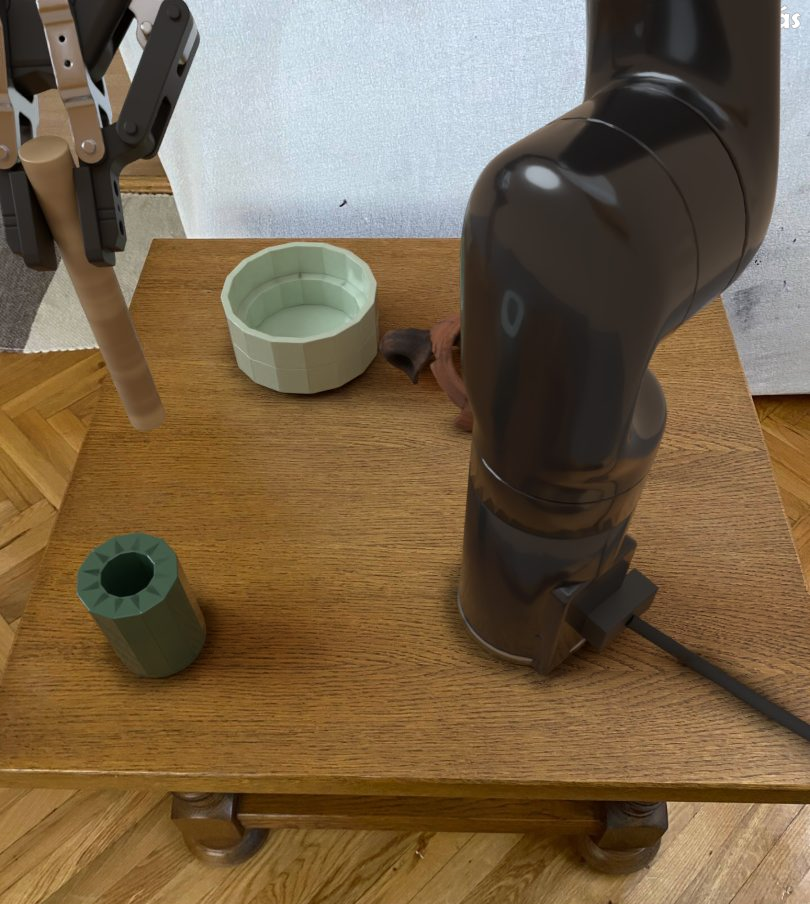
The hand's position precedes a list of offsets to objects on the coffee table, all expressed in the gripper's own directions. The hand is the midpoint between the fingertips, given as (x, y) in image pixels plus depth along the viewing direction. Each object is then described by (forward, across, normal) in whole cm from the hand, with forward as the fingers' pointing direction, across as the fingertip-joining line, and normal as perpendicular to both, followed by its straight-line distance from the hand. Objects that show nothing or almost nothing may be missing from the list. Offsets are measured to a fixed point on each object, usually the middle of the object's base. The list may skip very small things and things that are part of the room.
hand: (72, 265), depth 35 cm
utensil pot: (+21, -2, +15) cm, 26 cm away
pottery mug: (+7, +20, +30) cm, 37 cm away
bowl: (+3, +8, +34) cm, 35 cm away
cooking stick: (+7, 0, +10) cm, 12 cm away
